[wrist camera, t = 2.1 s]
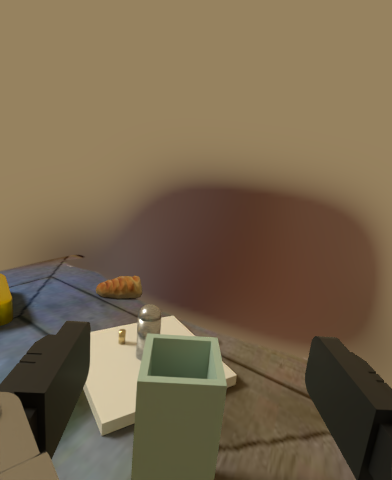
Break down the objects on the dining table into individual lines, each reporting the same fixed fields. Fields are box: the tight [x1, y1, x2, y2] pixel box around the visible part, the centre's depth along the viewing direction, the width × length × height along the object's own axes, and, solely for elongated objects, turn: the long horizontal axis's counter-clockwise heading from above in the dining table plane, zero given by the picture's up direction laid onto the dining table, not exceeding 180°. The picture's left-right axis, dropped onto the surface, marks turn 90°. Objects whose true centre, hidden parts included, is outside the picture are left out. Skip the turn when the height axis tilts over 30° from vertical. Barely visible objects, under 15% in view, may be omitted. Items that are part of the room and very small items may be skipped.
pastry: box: [96, 276, 142, 299], centre depth 67 cm, size 9×7×4 cm
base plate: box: [83, 304, 237, 436], centre depth 44 cm, size 18×18×9 cm
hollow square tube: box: [131, 333, 227, 480], centre depth 26 cm, size 8×6×14 cm
